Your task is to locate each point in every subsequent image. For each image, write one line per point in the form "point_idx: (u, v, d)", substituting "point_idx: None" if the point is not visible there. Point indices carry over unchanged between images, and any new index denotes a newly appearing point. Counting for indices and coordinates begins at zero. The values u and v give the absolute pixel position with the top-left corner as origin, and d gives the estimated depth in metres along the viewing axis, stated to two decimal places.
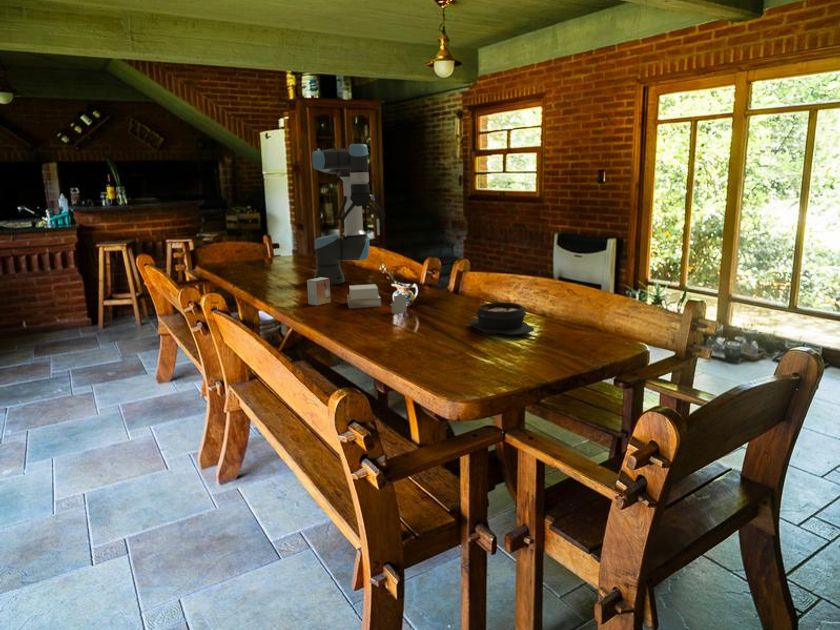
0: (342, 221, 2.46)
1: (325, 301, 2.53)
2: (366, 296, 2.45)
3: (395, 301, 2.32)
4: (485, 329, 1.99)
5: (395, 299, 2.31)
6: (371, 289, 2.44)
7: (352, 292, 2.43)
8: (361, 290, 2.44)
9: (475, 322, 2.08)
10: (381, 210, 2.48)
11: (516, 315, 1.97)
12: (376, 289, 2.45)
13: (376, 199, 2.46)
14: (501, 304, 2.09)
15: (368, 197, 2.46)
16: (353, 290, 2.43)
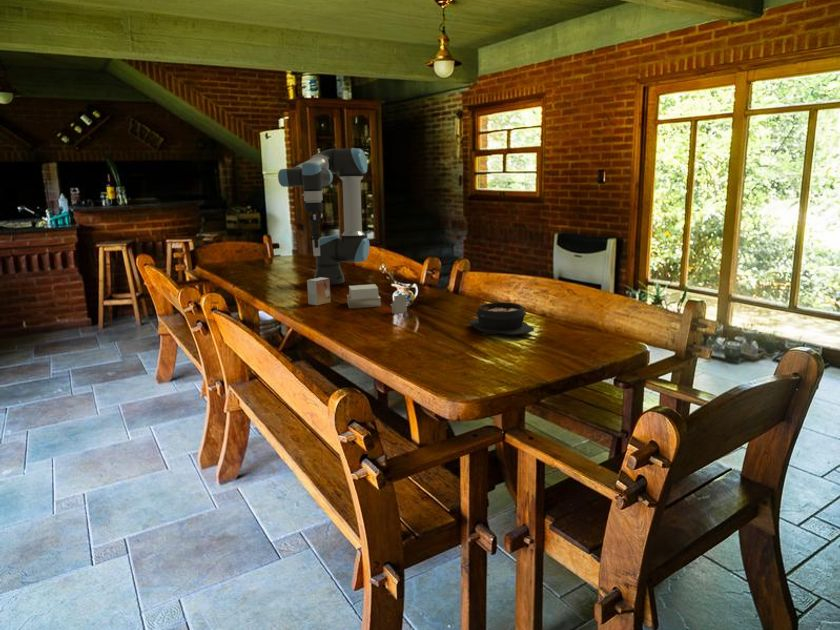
0: None
1: (325, 301, 2.53)
2: (366, 296, 2.45)
3: (395, 301, 2.32)
4: (485, 329, 1.99)
5: (395, 299, 2.31)
6: (371, 289, 2.44)
7: (352, 292, 2.43)
8: (361, 290, 2.44)
9: (475, 322, 2.08)
10: (312, 231, 2.39)
11: (516, 315, 1.97)
12: (376, 289, 2.45)
13: (311, 219, 2.39)
14: (501, 304, 2.09)
15: (311, 216, 2.42)
16: (353, 290, 2.43)
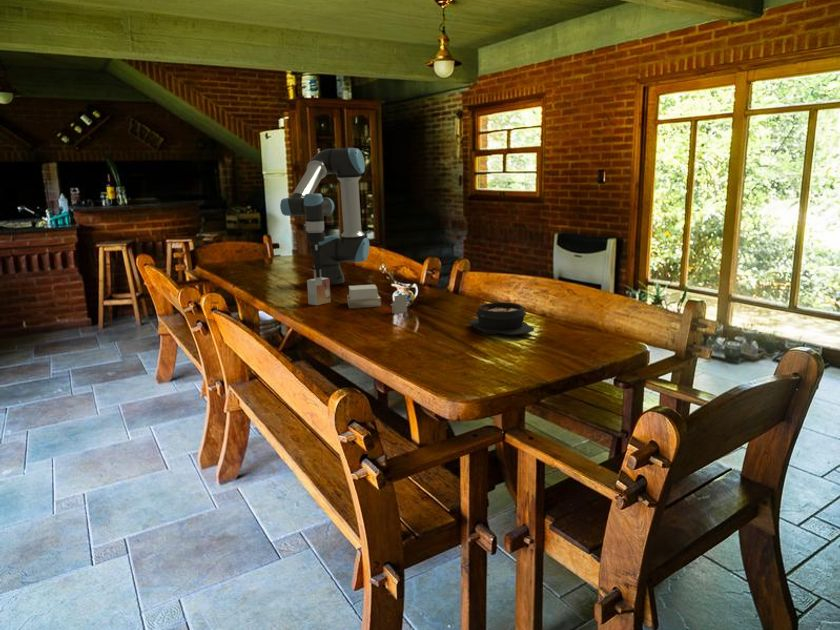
0: None
1: (325, 301, 2.53)
2: (366, 296, 2.45)
3: (396, 301, 2.32)
4: (485, 329, 1.99)
5: (396, 299, 2.31)
6: (371, 289, 2.44)
7: (352, 292, 2.43)
8: (361, 290, 2.44)
9: (475, 322, 2.08)
10: (314, 261, 2.41)
11: (516, 315, 1.97)
12: (376, 289, 2.45)
13: (313, 249, 2.42)
14: (501, 304, 2.09)
15: (313, 246, 2.45)
16: (353, 290, 2.43)
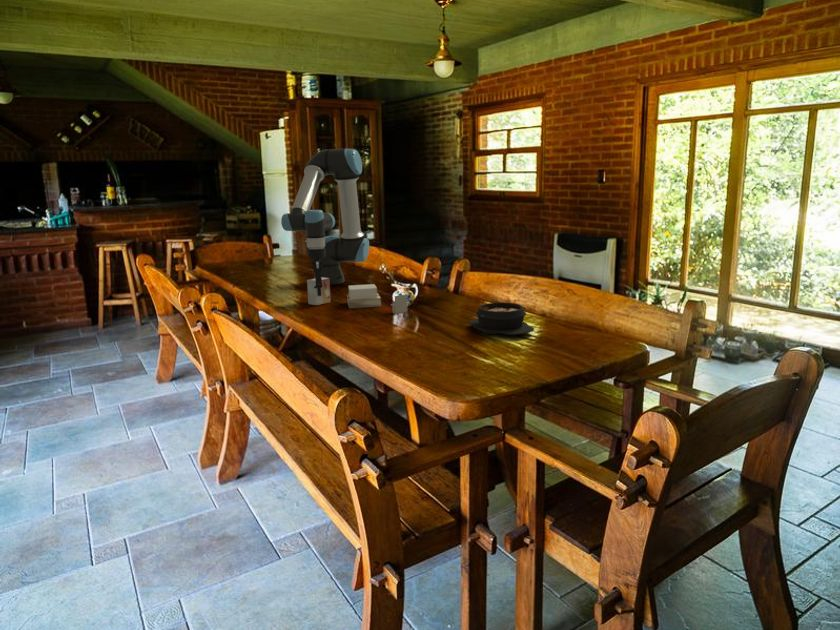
0: None
1: (325, 301, 2.53)
2: (365, 296, 2.45)
3: (396, 301, 2.32)
4: (485, 329, 1.99)
5: (396, 299, 2.31)
6: (370, 289, 2.44)
7: (351, 292, 2.43)
8: (360, 290, 2.44)
9: (475, 322, 2.08)
10: (315, 279, 2.45)
11: (516, 315, 1.97)
12: (375, 289, 2.45)
13: (314, 267, 2.44)
14: (501, 304, 2.09)
15: (314, 262, 2.47)
16: (352, 290, 2.43)
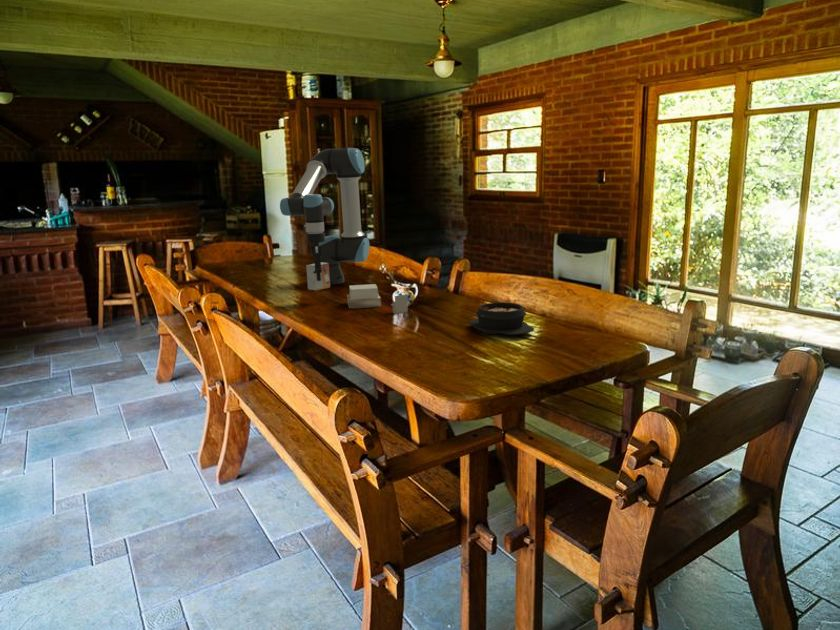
0: None
1: (325, 286, 2.52)
2: (366, 296, 2.45)
3: (396, 301, 2.32)
4: (485, 329, 1.99)
5: (396, 299, 2.31)
6: (371, 289, 2.44)
7: (352, 292, 2.43)
8: (361, 290, 2.44)
9: (475, 322, 2.08)
10: None
11: (516, 315, 1.97)
12: (376, 289, 2.45)
13: (313, 252, 2.43)
14: (501, 304, 2.09)
15: (313, 247, 2.45)
16: (353, 290, 2.43)
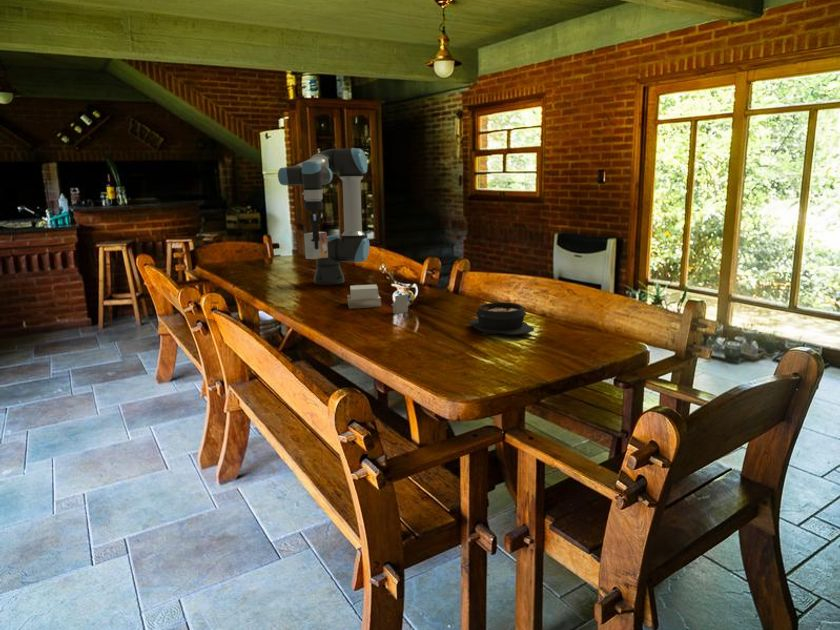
0: None
1: (322, 255, 2.49)
2: (366, 296, 2.45)
3: (396, 301, 2.32)
4: (485, 329, 1.99)
5: (396, 299, 2.31)
6: (371, 289, 2.44)
7: (352, 292, 2.43)
8: (361, 290, 2.44)
9: (475, 322, 2.08)
10: (312, 232, 2.40)
11: (516, 315, 1.97)
12: (376, 289, 2.45)
13: (311, 220, 2.40)
14: (501, 304, 2.09)
15: (311, 215, 2.42)
16: (353, 290, 2.43)
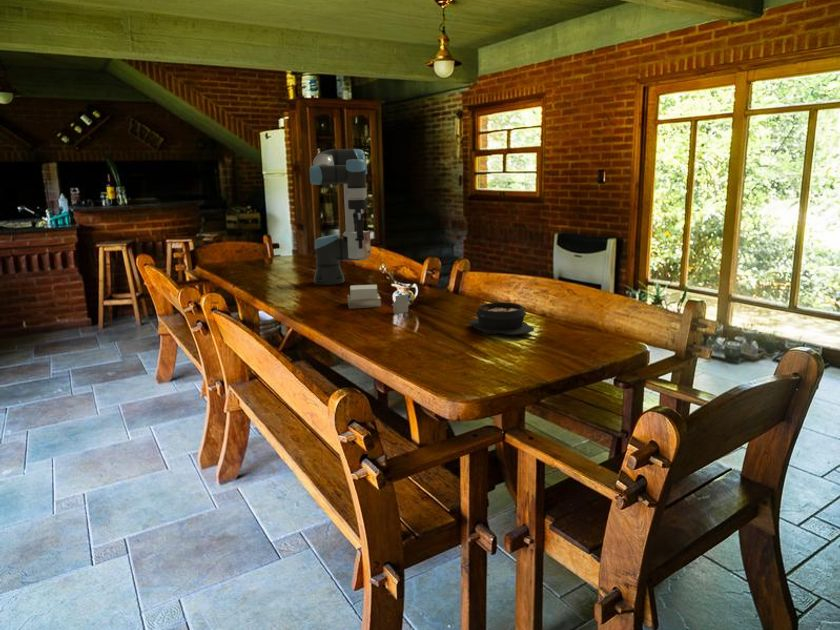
0: None
1: (366, 255, 2.44)
2: (365, 296, 2.44)
3: (397, 301, 2.31)
4: (485, 329, 1.99)
5: (397, 299, 2.31)
6: (370, 289, 2.44)
7: (351, 292, 2.43)
8: (360, 290, 2.44)
9: (475, 322, 2.08)
10: (357, 231, 2.36)
11: (516, 315, 1.97)
12: (375, 289, 2.44)
13: (356, 218, 2.35)
14: (501, 304, 2.09)
15: (355, 214, 2.38)
16: (352, 290, 2.43)
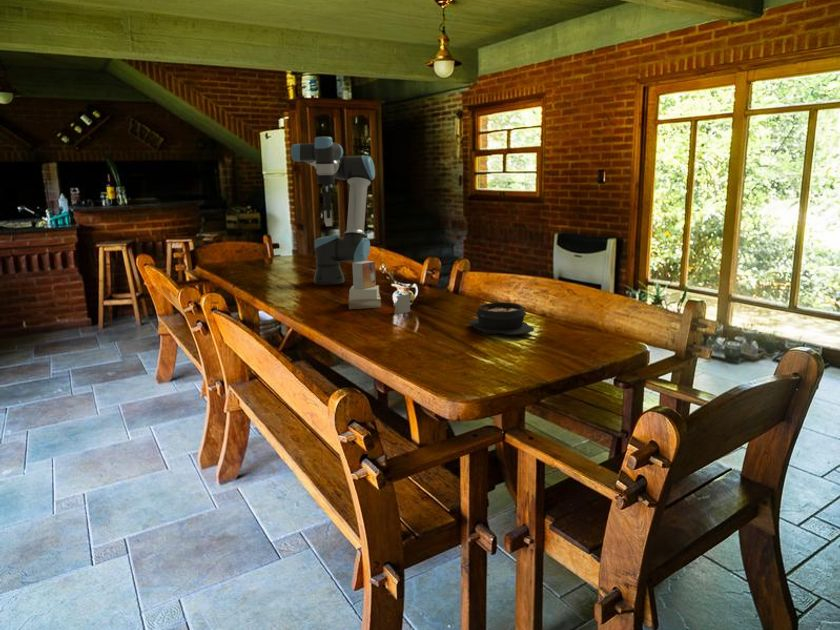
0: None
1: (370, 284, 2.46)
2: (365, 297, 2.43)
3: (398, 301, 2.31)
4: (485, 329, 1.99)
5: (398, 299, 2.31)
6: (370, 290, 2.42)
7: (351, 292, 2.42)
8: (360, 291, 2.42)
9: (475, 322, 2.08)
10: (324, 202, 2.50)
11: (516, 315, 1.97)
12: (375, 290, 2.42)
13: (324, 190, 2.50)
14: (501, 304, 2.09)
15: (323, 188, 2.53)
16: (352, 290, 2.42)
